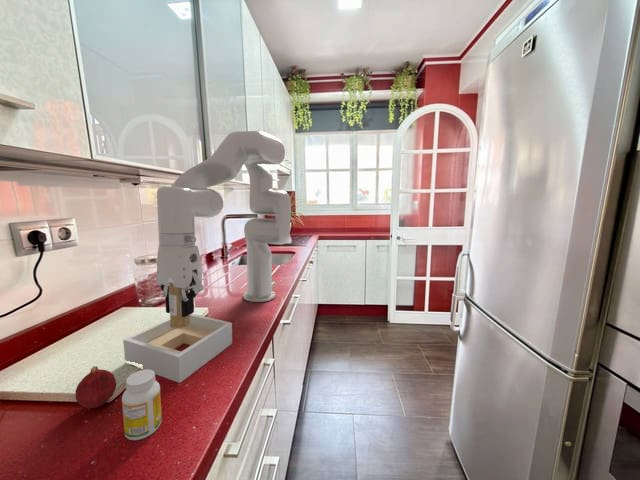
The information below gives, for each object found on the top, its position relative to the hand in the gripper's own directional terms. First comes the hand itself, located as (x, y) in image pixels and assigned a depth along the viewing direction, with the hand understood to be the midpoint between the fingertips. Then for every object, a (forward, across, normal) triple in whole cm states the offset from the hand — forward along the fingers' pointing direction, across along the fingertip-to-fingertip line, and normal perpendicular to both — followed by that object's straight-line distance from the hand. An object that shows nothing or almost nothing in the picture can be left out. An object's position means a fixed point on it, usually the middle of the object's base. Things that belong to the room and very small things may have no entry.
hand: (180, 312), depth 65 cm
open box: (+11, 0, 0) cm, 11 cm away
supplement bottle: (+12, -12, +19) cm, 25 cm away
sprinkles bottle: (+4, 0, 0) cm, 4 cm away
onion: (+11, 0, +19) cm, 22 cm away
